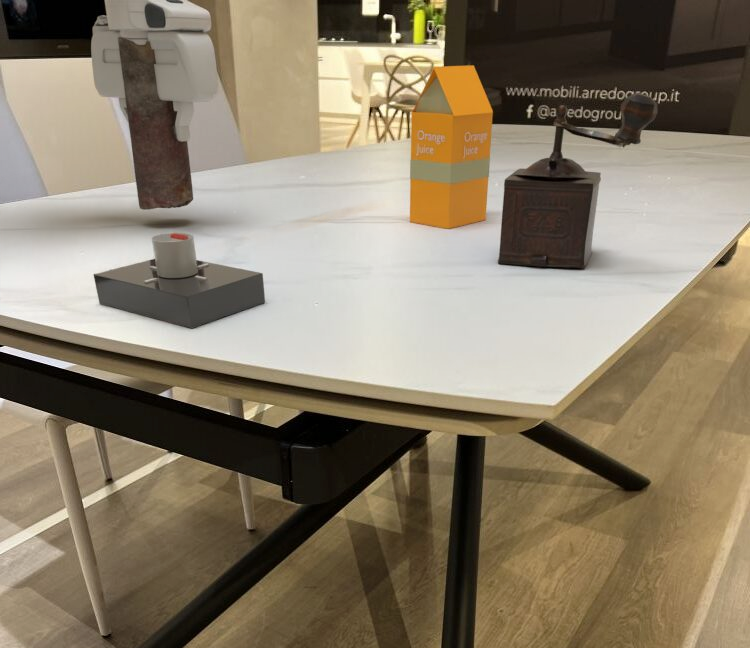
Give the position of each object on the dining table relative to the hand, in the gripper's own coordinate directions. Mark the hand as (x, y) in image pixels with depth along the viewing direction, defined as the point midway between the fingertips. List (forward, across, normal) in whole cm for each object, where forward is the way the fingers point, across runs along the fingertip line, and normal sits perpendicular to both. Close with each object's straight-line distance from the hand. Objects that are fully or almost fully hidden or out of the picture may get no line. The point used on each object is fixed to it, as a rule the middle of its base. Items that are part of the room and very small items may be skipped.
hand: (160, 138), depth 98 cm
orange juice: (+12, +27, +29) cm, 42 cm away
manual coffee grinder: (+12, +51, +17) cm, 55 cm away
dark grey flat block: (+12, +26, -22) cm, 36 cm away
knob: (+9, +26, -22) cm, 35 cm away
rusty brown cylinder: (+9, 0, 0) cm, 9 cm away
